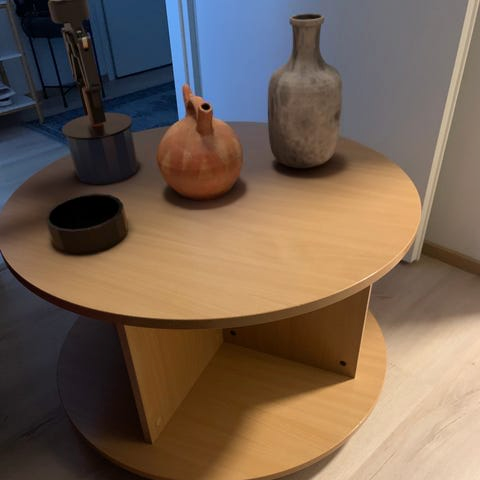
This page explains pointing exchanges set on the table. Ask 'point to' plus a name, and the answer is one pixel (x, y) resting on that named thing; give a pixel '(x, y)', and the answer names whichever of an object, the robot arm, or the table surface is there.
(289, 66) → the vase
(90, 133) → the lid
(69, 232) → the pan
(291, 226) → the table surface
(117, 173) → the pot
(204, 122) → the jug
